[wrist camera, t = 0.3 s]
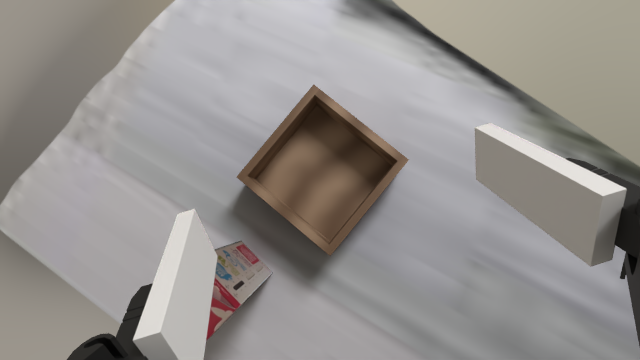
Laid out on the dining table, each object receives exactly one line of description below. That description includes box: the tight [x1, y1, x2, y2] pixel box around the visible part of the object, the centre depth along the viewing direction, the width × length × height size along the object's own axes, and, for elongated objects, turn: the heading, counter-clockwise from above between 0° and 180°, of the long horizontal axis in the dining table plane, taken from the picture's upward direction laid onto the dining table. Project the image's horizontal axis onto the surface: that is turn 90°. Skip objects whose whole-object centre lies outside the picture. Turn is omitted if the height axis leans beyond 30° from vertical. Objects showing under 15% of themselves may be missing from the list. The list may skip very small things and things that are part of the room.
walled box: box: [237, 85, 408, 256], centre depth 49 cm, size 16×16×6 cm
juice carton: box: [206, 241, 273, 341], centre depth 41 cm, size 7×7×22 cm
